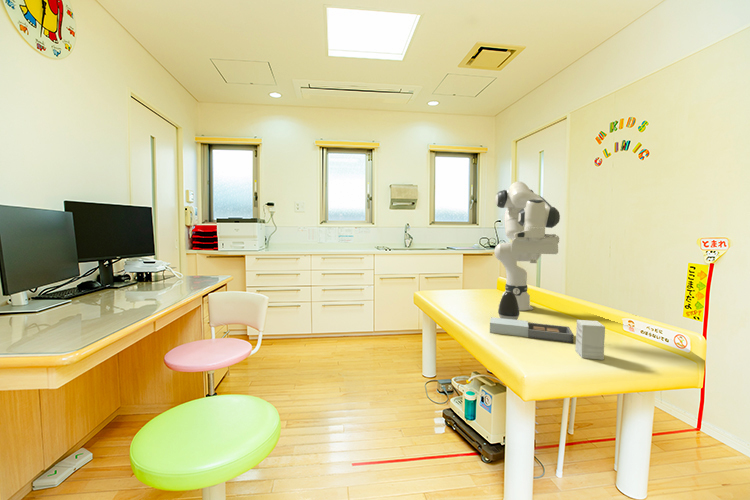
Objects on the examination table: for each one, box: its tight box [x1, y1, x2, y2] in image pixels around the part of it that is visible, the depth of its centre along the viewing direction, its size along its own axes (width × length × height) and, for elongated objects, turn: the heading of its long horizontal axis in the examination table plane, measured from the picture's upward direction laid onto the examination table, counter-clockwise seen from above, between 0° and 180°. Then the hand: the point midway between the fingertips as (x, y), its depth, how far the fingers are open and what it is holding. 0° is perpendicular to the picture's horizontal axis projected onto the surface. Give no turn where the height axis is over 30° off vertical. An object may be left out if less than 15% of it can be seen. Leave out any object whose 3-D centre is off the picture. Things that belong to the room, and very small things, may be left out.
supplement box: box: [575, 319, 606, 361], centre depth 123 cm, size 7×7×13 cm
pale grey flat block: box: [489, 316, 529, 338], centre depth 151 cm, size 10×16×4 cm, turn 68°
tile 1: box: [533, 326, 546, 331], centre depth 146 cm, size 4×4×2 cm
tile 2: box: [546, 328, 559, 332], centre depth 144 cm, size 4×4×2 cm
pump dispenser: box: [497, 290, 520, 320], centre depth 168 cm, size 10×10×15 cm
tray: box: [527, 322, 574, 344], centre depth 145 cm, size 12×17×4 cm
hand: (533, 263), depth 155 cm, fingers closed
